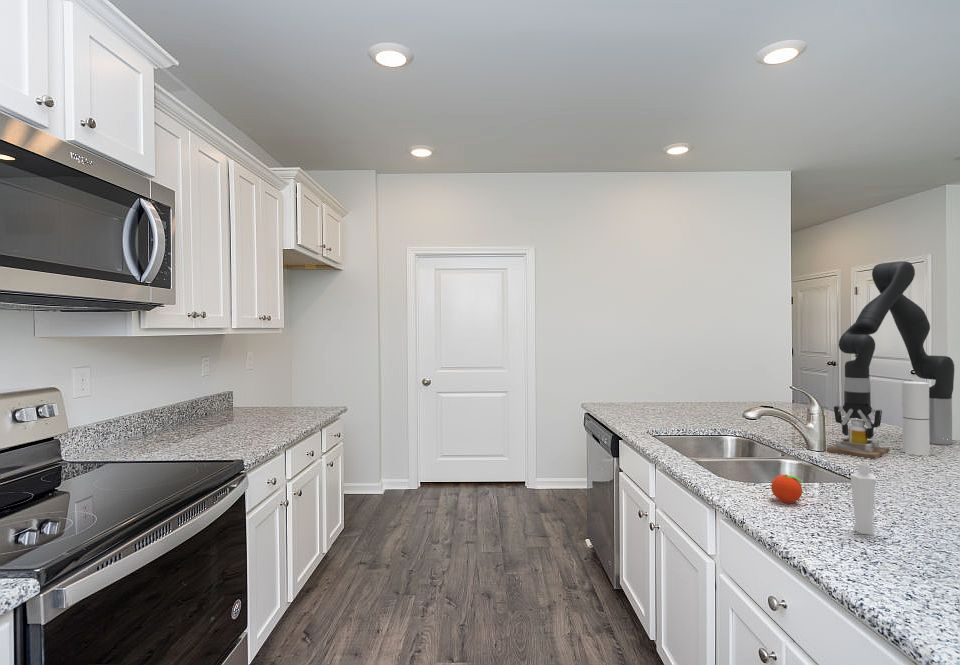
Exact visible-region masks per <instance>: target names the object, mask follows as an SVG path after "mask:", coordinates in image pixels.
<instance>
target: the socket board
mask: <svg viewBox="0 0 960 665" xmlns="http://www.w3.org/2000/svg"><path fill="white" fill-rule="evenodd" d="M826 452H827V453H830V452H831V453H832V454H836V453H838V455H842V454H844V455H843V456H848V455H851V456H850V457H854V456H857V457H856V458H860V457H864V458H863V459H866V458H870V459H869V460H872V459H875V460H877V459H879V458H881V457H883V456H882V455H884V454H886V453H888V452H889V453H890V449H889V448H887V447H880V446H879V441H877V440H870V439H867V444H859V443H852V442H849V436H845V437H843V438H840V439H838V440H836V444H834V445H830V446H828V447H826ZM831 453H830V454H831ZM889 453H888V454H889ZM886 455H887V454H886ZM880 456H881V457H880ZM884 456H885V455H884ZM878 457H879V458H878ZM876 458H877V459H876Z"/></svg>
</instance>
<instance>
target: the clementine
mask: <svg viewBox="0 0 960 665" xmlns="http://www.w3.org/2000/svg"><path fill="white" fill-rule="evenodd" d="M799 481H801V482H802V483H803V484H804V485H805V486H806V488H808V486H807V485H806V483H805V482H804V481H803V480H802V479H800V478H798V477H797V476H794V475H788V474H780V475H778V476H776V477H775V478H774V479H772V482H771V485H770V486H771V488H770V489H771V492H772V494H773V496H774V497H775V498H776V499H778V500H779V502H783V503H787V504H790V503H795V502H797V501H799V500H800V498H801V497H802V495H803V487H802V485H801V483H800V482H799Z"/></svg>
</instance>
